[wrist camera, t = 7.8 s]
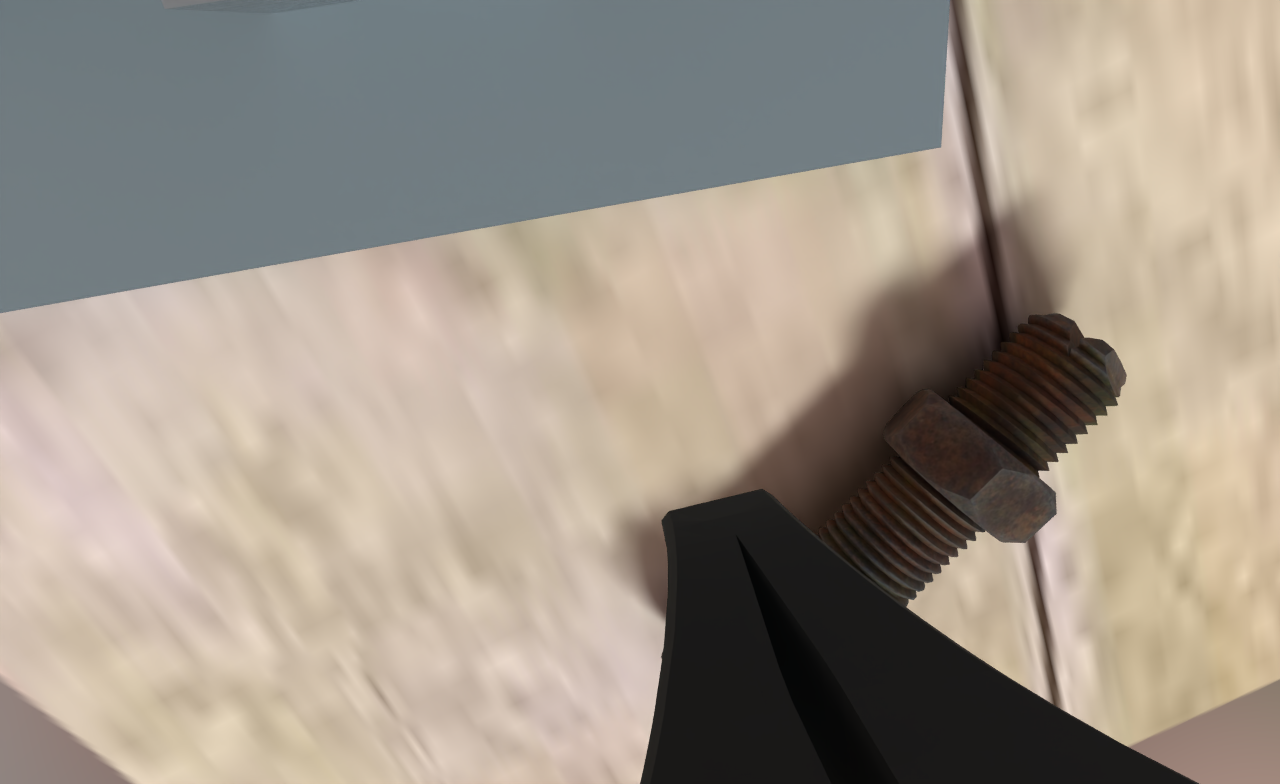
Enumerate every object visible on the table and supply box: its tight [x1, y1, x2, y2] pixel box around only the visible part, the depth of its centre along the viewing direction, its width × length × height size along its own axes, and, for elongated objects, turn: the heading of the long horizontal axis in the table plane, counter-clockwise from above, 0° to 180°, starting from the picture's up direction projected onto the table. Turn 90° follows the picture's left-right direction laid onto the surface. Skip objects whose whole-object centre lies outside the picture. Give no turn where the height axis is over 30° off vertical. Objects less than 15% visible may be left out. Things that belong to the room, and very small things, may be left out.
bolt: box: [661, 313, 1126, 658], centre depth 21 cm, size 6×5×15 cm
